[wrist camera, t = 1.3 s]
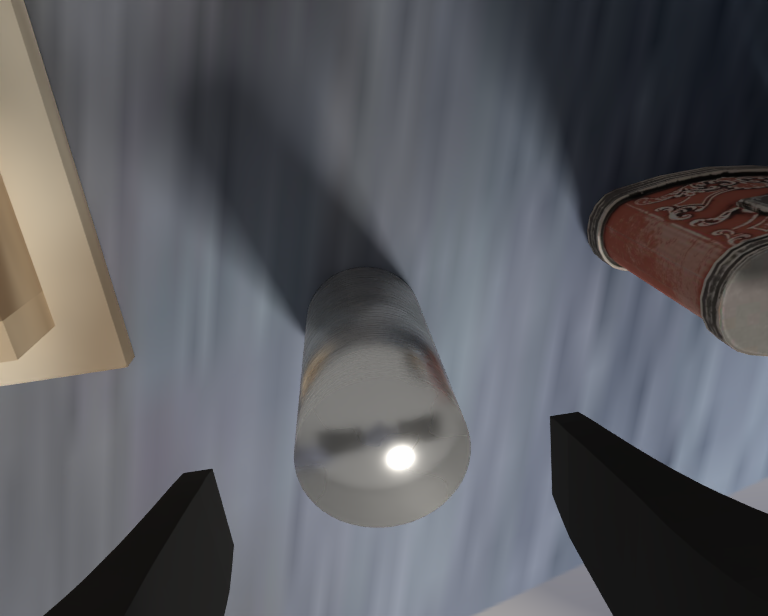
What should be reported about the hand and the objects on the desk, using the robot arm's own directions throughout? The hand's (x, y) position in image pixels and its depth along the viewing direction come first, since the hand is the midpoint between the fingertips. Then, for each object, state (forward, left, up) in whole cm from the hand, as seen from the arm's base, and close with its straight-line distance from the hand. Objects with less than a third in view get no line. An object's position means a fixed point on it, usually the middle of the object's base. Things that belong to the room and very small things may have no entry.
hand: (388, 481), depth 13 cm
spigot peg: (0, 0, -9) cm, 9 cm away
